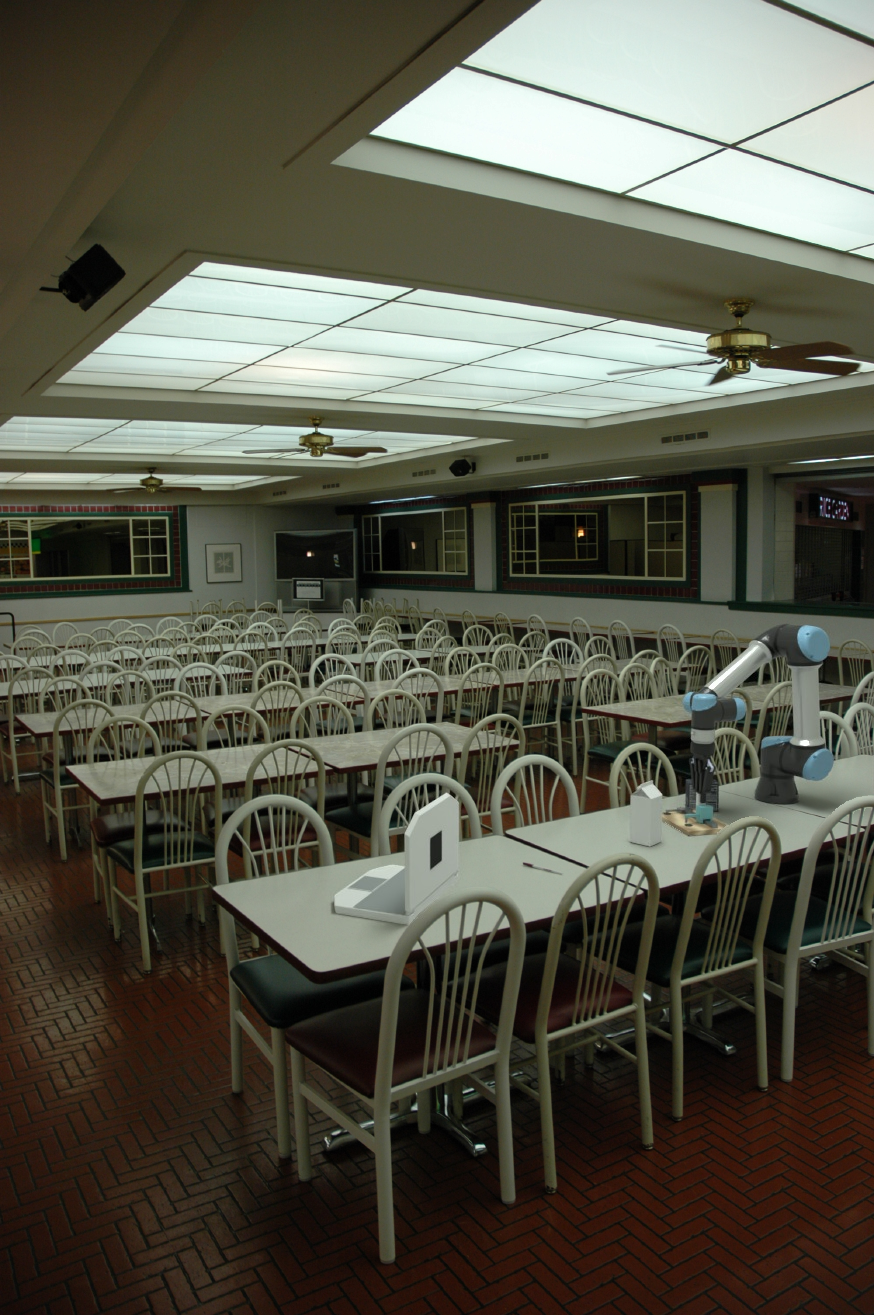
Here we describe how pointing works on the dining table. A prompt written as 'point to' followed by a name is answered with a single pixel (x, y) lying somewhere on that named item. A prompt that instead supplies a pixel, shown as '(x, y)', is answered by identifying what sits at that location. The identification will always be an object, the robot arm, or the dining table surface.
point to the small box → (711, 797)
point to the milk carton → (646, 815)
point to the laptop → (410, 869)
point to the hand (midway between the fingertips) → (700, 812)
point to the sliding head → (701, 813)
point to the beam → (690, 811)
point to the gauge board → (690, 824)
